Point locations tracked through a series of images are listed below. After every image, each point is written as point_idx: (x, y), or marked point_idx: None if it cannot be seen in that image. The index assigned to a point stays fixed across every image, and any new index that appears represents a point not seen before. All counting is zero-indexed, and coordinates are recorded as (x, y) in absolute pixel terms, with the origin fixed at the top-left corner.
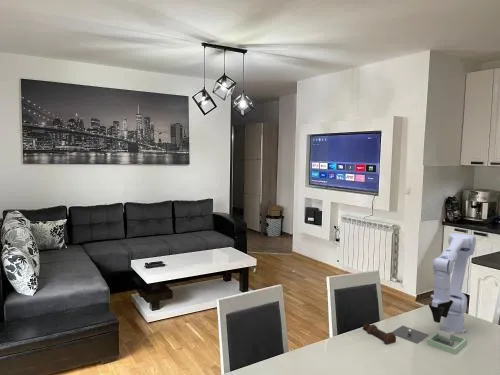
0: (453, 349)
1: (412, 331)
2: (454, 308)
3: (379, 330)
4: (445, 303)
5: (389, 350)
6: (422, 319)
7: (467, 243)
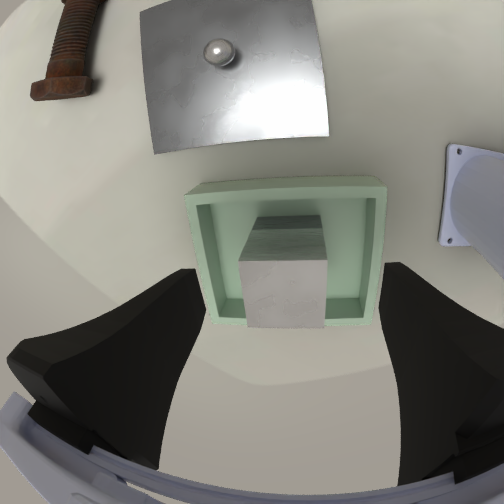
0: (211, 315)
1: (279, 44)
2: None
3: (63, 23)
4: (423, 433)
5: (53, 123)
6: (495, 41)
7: None
